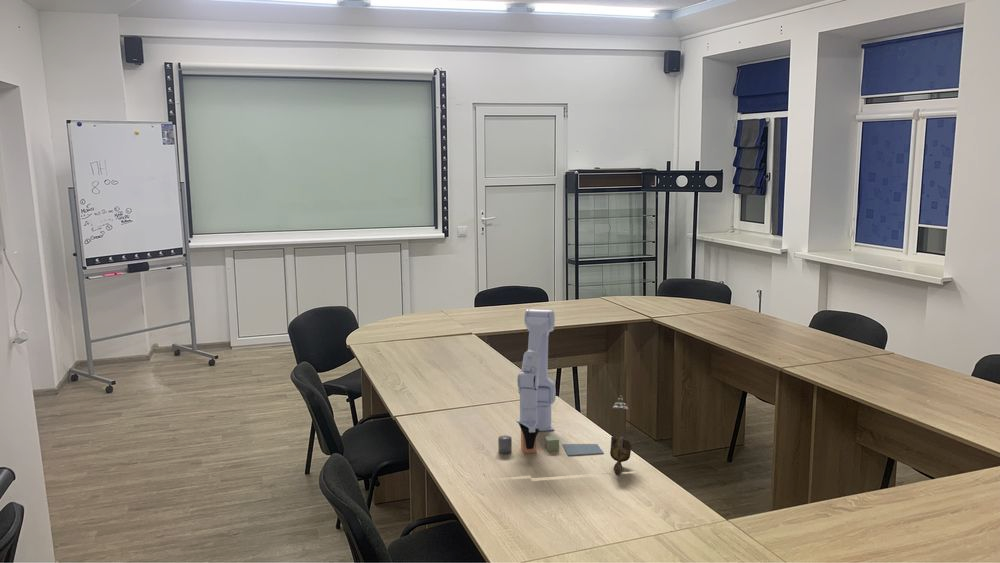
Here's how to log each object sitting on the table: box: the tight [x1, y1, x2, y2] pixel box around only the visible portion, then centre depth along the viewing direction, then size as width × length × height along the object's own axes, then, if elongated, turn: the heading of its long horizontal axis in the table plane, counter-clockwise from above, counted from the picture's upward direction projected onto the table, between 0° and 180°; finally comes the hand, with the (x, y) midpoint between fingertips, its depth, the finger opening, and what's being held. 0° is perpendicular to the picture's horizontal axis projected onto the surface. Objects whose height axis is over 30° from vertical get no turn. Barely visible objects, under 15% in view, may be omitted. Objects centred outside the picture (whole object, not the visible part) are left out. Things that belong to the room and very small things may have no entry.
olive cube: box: [544, 435, 560, 452], centre depth 247 cm, size 4×4×4 cm
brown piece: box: [609, 436, 633, 477], centre depth 229 cm, size 7×13×10 cm, turn 2°
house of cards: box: [612, 394, 629, 411], centre depth 286 cm, size 9×9×8 cm
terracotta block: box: [520, 429, 537, 454], centre depth 246 cm, size 4×4×6 cm
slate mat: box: [561, 443, 605, 457], centre depth 249 cm, size 14×12×1 cm
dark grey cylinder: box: [498, 434, 513, 455], centre depth 245 cm, size 4×4×5 cm
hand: (528, 445), depth 246 cm, fingers closed on terracotta block, 4 cm apart
